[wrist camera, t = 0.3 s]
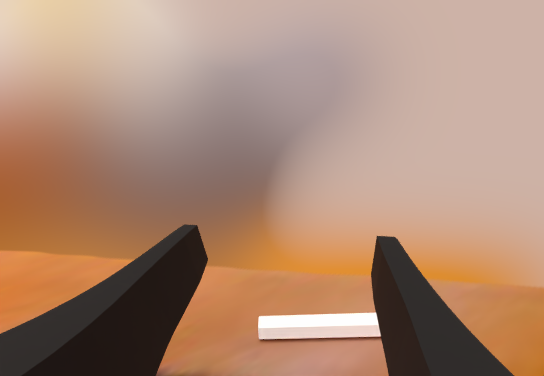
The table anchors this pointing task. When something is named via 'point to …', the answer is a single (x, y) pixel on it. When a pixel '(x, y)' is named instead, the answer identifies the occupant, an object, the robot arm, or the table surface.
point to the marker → (318, 326)
